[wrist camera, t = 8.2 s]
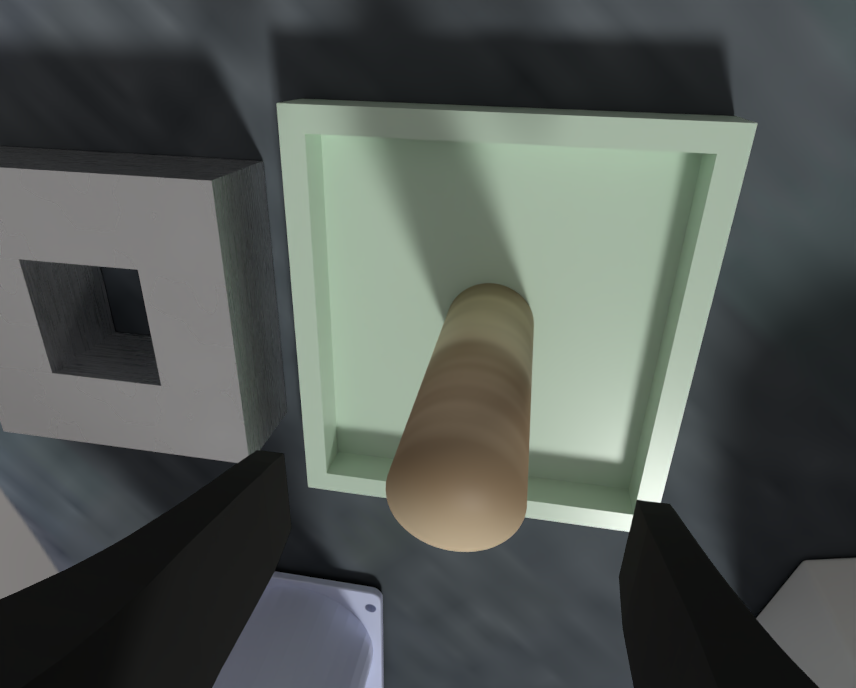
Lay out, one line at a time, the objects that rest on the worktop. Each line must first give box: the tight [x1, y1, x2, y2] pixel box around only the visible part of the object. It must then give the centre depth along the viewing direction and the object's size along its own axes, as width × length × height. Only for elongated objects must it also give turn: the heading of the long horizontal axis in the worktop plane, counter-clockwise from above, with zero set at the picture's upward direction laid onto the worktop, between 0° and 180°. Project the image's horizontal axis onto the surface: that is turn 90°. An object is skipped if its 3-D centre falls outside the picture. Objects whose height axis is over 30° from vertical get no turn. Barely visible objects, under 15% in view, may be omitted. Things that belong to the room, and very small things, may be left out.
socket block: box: [0, 146, 287, 463], centre depth 21 cm, size 10×10×4 cm
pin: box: [386, 283, 534, 552], centre depth 16 cm, size 3×3×9 cm
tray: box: [276, 98, 758, 532], centre depth 20 cm, size 14×13×2 cm
